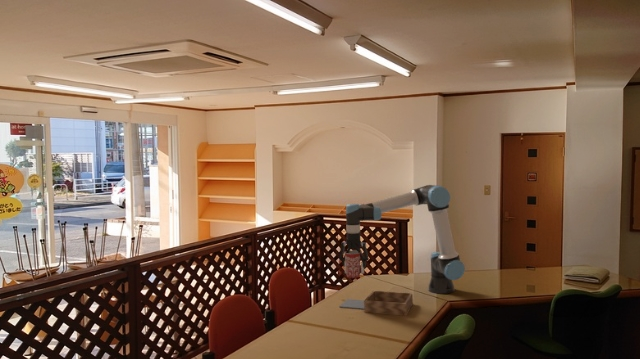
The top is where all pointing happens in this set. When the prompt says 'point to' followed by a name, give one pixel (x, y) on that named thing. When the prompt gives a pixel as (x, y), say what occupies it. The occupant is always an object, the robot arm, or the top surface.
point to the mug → (353, 264)
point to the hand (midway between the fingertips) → (354, 272)
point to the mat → (353, 304)
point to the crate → (388, 302)
